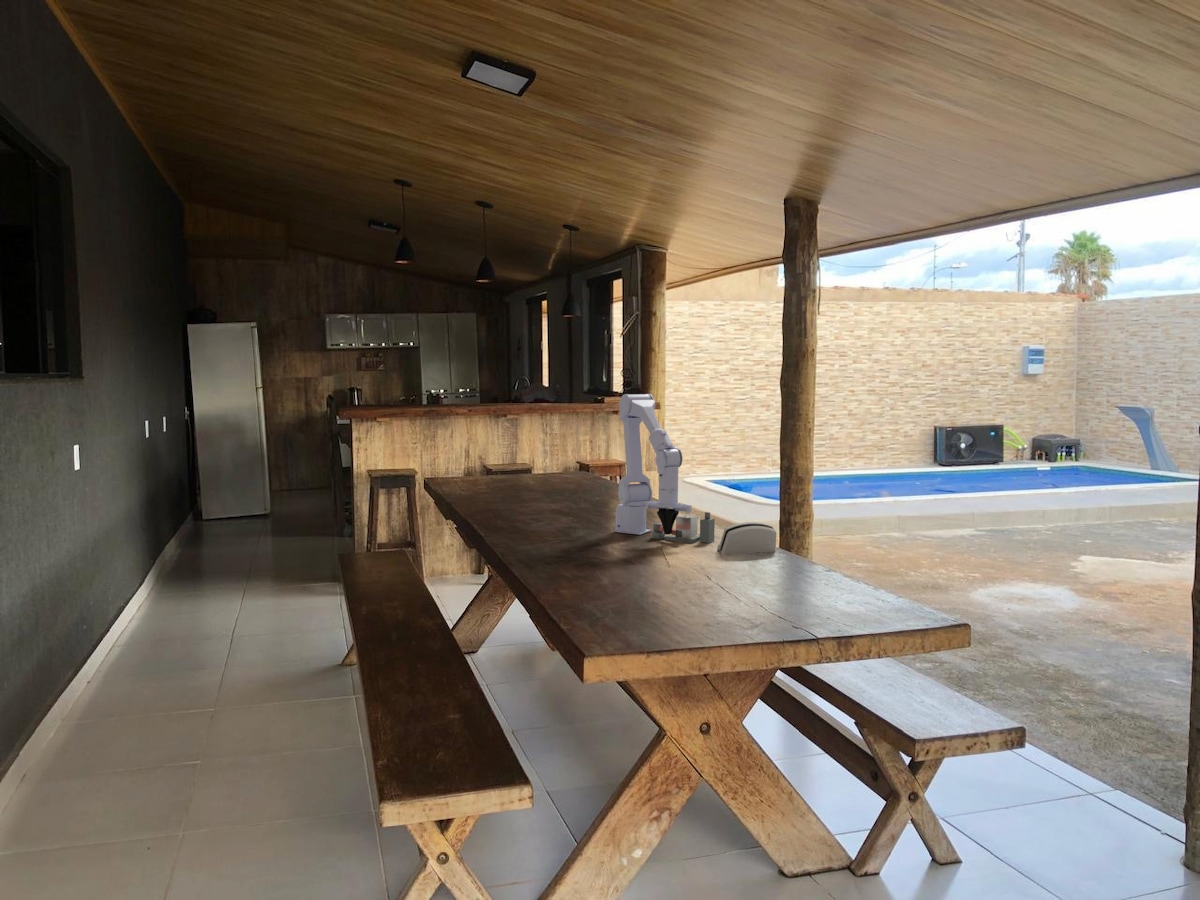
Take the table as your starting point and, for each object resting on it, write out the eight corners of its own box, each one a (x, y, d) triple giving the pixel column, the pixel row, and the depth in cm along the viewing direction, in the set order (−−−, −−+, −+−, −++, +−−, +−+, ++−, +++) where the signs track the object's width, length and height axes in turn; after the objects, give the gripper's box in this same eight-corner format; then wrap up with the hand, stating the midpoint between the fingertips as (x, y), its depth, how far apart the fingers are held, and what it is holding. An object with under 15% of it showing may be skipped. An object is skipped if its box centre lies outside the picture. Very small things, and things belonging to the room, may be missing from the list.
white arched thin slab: (768, 548, 275) (774, 518, 271) (775, 556, 271) (781, 526, 267) (715, 550, 271) (720, 520, 267) (721, 559, 267) (727, 529, 262)
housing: (675, 535, 287) (675, 516, 286) (682, 533, 291) (682, 514, 290) (690, 537, 284) (690, 517, 283) (697, 534, 288) (697, 515, 288)
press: (649, 538, 288) (650, 509, 288) (663, 533, 297) (663, 505, 296) (704, 545, 279) (705, 515, 278) (717, 539, 287) (718, 510, 286)
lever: (676, 538, 278) (676, 530, 277) (651, 530, 290) (651, 523, 289) (685, 537, 279) (685, 529, 279) (660, 529, 291) (660, 522, 291)
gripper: (640, 488, 279) (640, 533, 280) (684, 492, 272) (683, 538, 273) (651, 485, 285) (650, 529, 286) (694, 489, 278) (694, 534, 279)
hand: (667, 533), depth 280 cm, fingers closed
